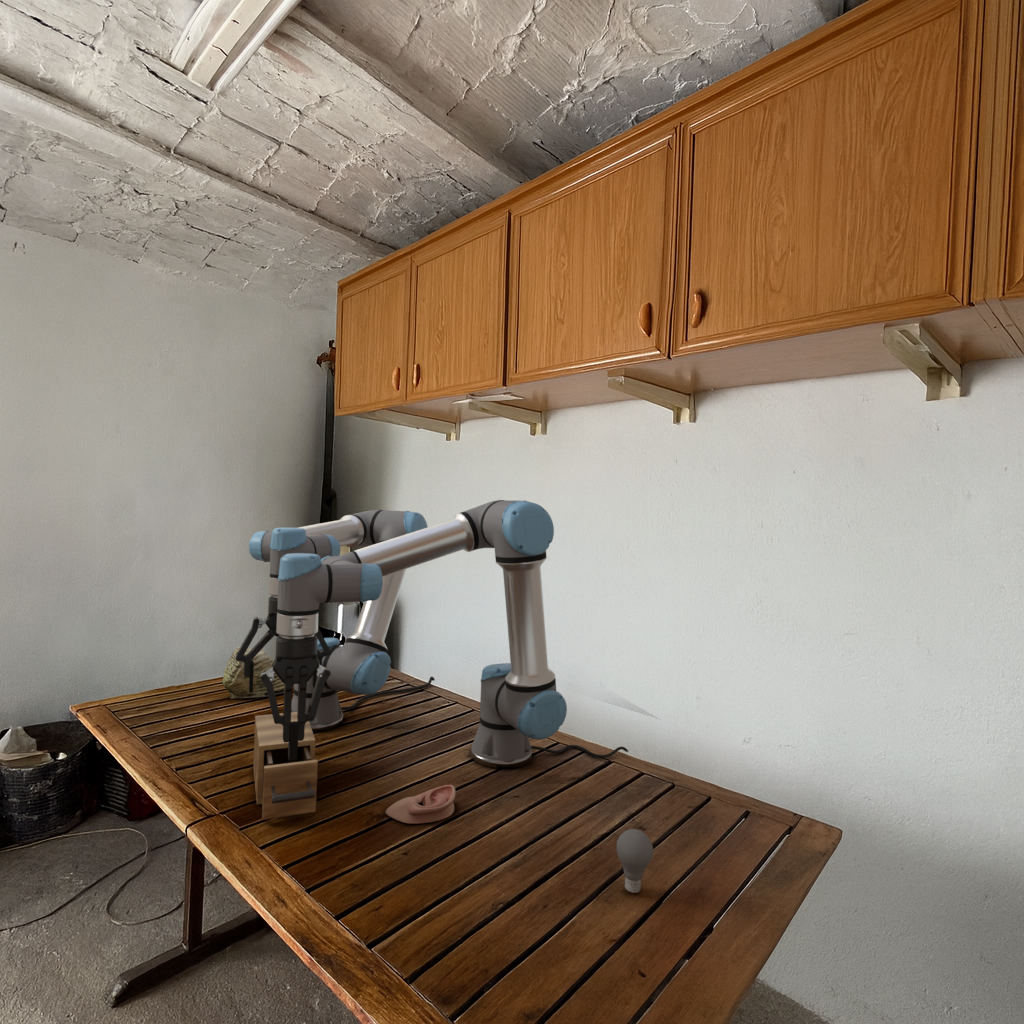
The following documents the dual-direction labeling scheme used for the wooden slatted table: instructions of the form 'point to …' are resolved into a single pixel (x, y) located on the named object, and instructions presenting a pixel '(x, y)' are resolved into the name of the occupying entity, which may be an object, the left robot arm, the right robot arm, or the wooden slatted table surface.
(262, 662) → the fossil
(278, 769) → the drawer
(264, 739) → the cabinet
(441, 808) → the anatomical model
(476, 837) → the wooden slatted table surface
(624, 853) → the light bulb
